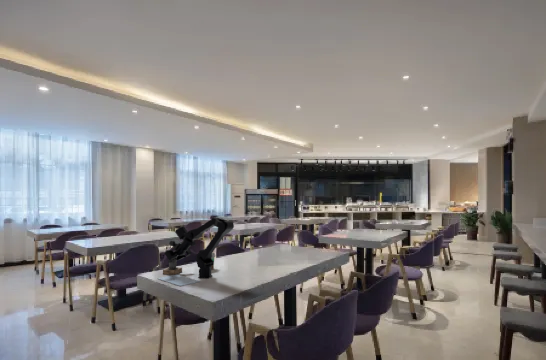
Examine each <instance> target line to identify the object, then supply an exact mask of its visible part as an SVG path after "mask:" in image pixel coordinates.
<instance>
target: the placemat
mask: <svg viewBox="0 0 546 360" xmlns="http://www.w3.org/2000/svg"><path fill="white" fill-rule="evenodd" d="M157 280H159V281H162V282H166V283H169V284H172V285H174V286H179V287H183V286H187V285H192V284H196V283H200V282H201V280H197V279H195V278H191V277H187V276H183V275H180V274H171V275H168V276H163V277H158V278H157Z"/></svg>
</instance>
